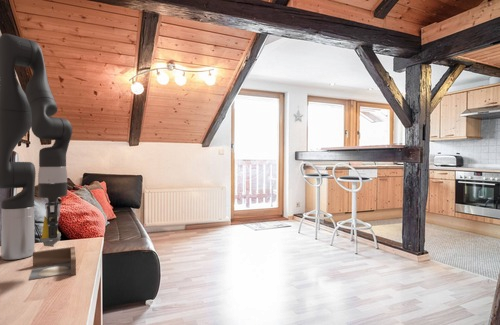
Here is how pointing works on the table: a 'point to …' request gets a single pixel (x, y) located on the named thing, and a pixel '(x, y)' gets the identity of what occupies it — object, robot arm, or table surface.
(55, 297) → the table surface
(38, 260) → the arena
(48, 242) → the drill bit
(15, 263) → the table surface
